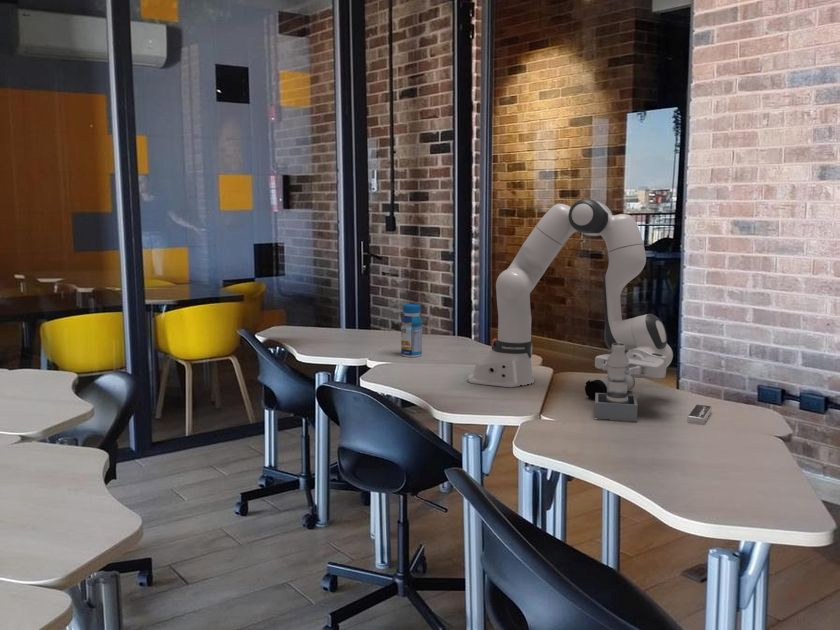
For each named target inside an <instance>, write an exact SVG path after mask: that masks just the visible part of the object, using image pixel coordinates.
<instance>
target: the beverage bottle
mask: <svg viewBox="0 0 840 630" xmlns="http://www.w3.org/2000/svg"><path fill="white" fill-rule="evenodd" d="M402 308H403V309H402V310H403V311H402V313H403V314H404V315H403V316H402V318H401V321H400V323H401V326H400V332H401V333H400V334H401V335H400V338H401V339H400V340H401V341H400V343H401V347H400V348H401V351H400V355H401V356H403V357H405V358H419V357H421V356H422V355H423V350H422V349H423V348H422V347H423V345H422V344H423V330H424V329H423V326H422V325H423V319H422V318H421V315H420V314H421V311H422V309H421V308H422V307H421V304H419V303H404V304H403V306H402Z"/></svg>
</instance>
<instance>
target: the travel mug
mask: <svg viewBox="0 0 840 630" xmlns="http://www.w3.org/2000/svg"><path fill="white" fill-rule="evenodd" d="M635 385H636V378H635V377H632V376H630V375H627V392H628V391H632V390H633V389H634V388H635ZM584 386H585V387H584V392H585V395H586V396H587V398H589V399H590V400H592V401H595V393H607V391H608V375H607V376H604V377H600V378H597V379H594V380H587V381H586V382H585V385H584Z"/></svg>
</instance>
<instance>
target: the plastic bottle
mask: <svg viewBox="0 0 840 630" xmlns="http://www.w3.org/2000/svg"><path fill="white" fill-rule="evenodd" d="M610 350H611V353H610V355H609V357H608V358H607V361H606V364H607V371H606V372H607V376H608V391H607V397H606V403H619V404H629V401H628V396H627V395H628V391H627V375H628V374H626V373H625V372H626V369H627V368H629V359H628V358H627V356H626V355H625V354H626V352H625V353H624V351H625V344H623V343H613V344H612V348H611V349H610Z"/></svg>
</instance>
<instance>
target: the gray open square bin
mask: <svg viewBox="0 0 840 630" xmlns="http://www.w3.org/2000/svg"><path fill="white" fill-rule="evenodd" d="M627 396H628V401H629V404H619V403H606V397H607V393H595V400H594V419H595V418H597V419H596V420H601V419H612V420H611V421H615V420H623V421H622V422H630V421H638V408H639V407H638V400H637V395H636V394H627Z"/></svg>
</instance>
